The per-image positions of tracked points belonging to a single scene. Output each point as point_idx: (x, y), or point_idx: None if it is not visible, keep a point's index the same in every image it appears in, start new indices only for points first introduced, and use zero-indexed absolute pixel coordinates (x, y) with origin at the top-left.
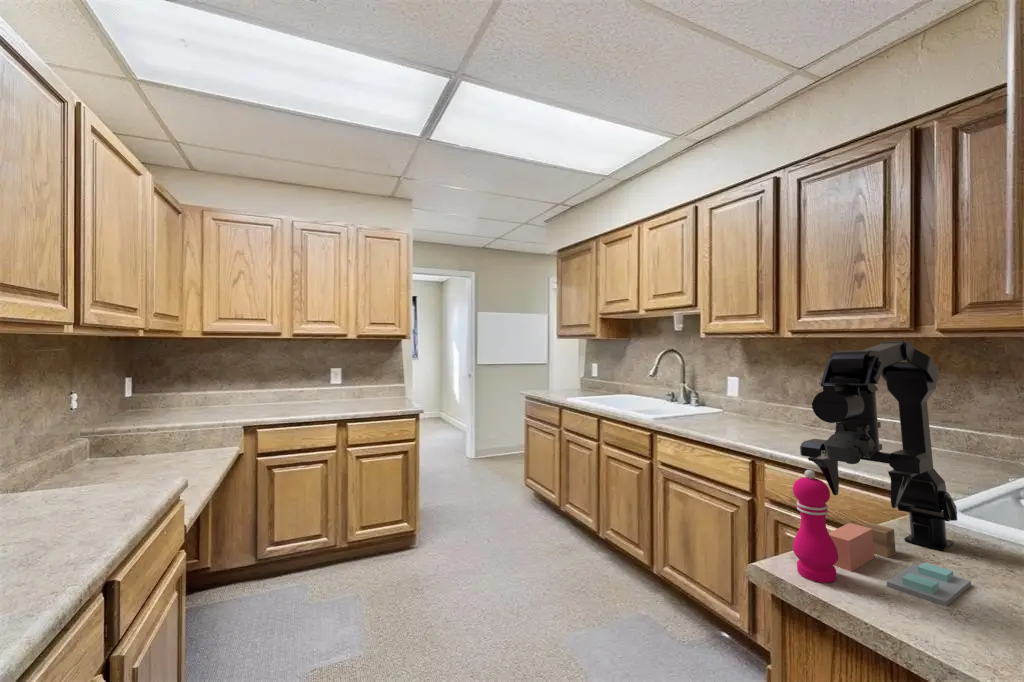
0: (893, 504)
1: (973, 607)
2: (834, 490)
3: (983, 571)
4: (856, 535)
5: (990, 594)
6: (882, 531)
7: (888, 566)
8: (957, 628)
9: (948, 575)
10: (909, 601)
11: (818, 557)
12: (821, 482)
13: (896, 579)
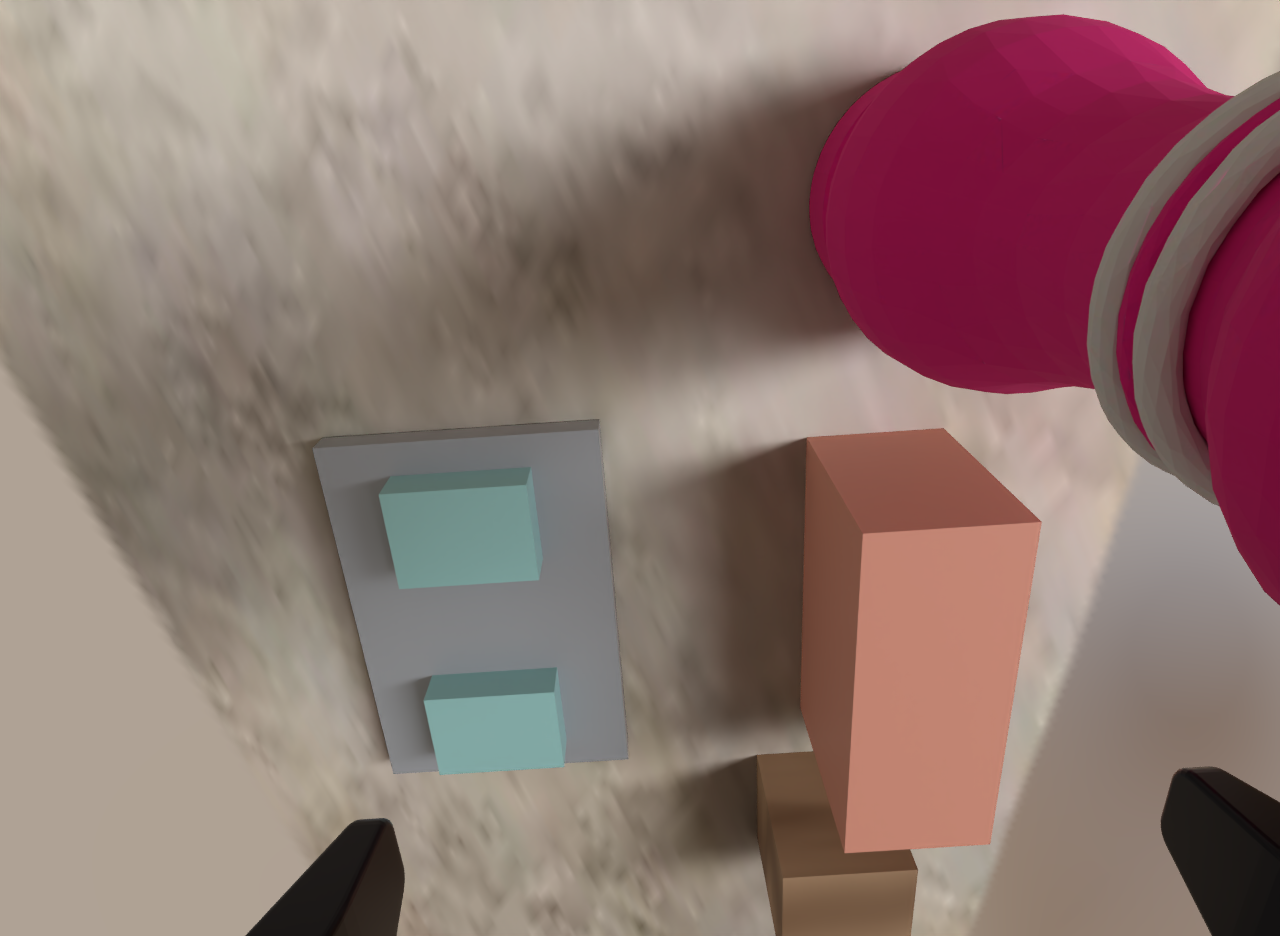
0: (338, 859)
1: (267, 539)
2: (1246, 823)
3: (447, 916)
4: (865, 672)
5: (313, 728)
6: (807, 890)
7: (708, 664)
8: (158, 227)
9: (428, 713)
10: (441, 333)
11: (925, 61)
12: None
13: (581, 502)
